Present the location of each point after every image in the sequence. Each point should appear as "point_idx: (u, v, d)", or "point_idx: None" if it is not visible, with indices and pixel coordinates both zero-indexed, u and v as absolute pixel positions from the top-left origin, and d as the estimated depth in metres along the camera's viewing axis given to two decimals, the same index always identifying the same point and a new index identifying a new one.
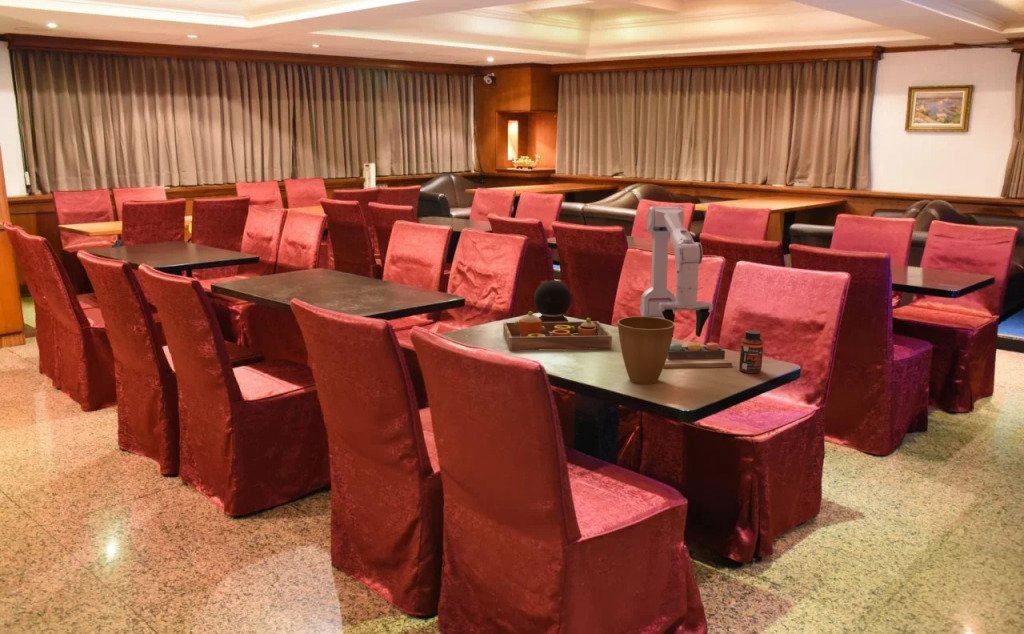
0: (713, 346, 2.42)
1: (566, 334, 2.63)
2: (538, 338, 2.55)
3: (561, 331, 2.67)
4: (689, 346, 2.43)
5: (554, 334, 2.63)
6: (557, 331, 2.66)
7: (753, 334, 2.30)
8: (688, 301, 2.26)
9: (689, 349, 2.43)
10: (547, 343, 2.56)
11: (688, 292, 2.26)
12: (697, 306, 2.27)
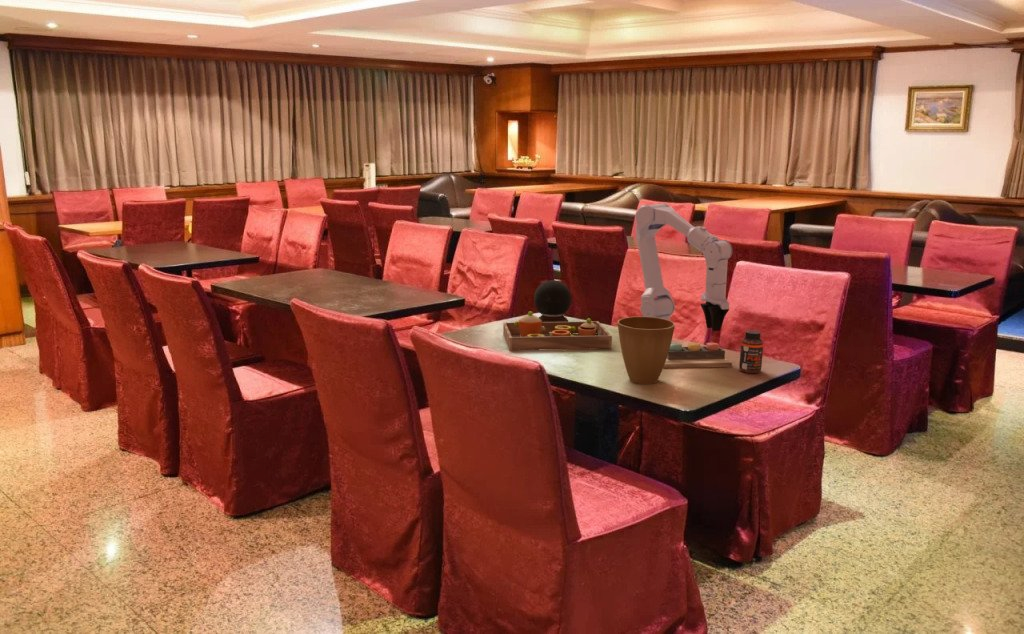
0: (713, 346, 2.42)
1: (565, 334, 2.62)
2: (538, 338, 2.55)
3: (561, 331, 2.66)
4: (689, 346, 2.43)
5: (554, 334, 2.63)
6: (557, 331, 2.66)
7: (753, 334, 2.30)
8: (705, 294, 2.41)
9: (689, 349, 2.43)
10: (547, 343, 2.56)
11: (706, 285, 2.40)
12: (711, 301, 2.38)
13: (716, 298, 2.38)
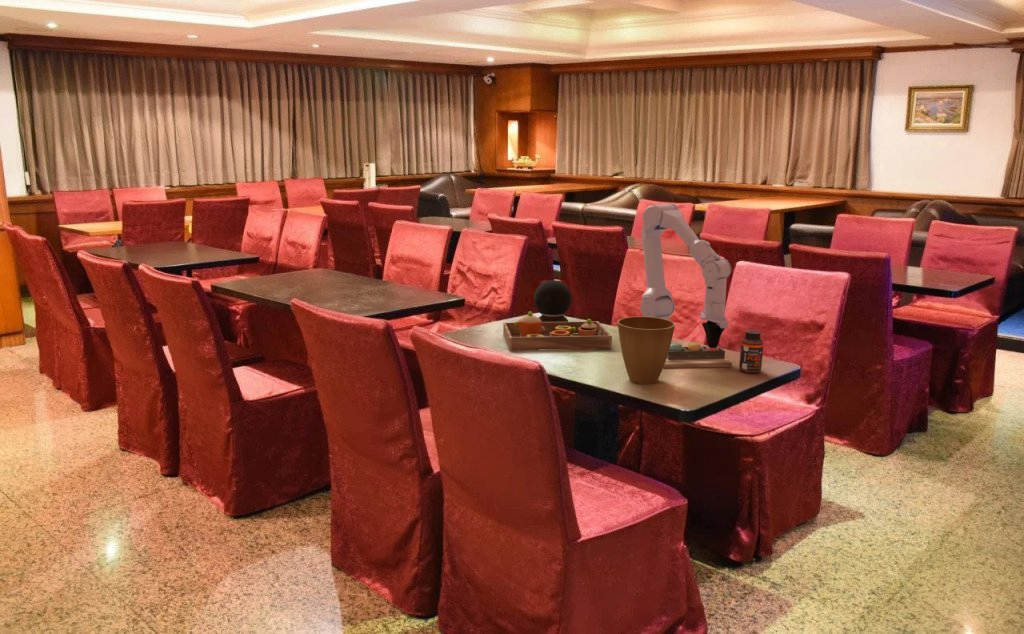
0: (713, 349, 2.43)
1: (565, 335, 2.61)
2: (538, 338, 2.55)
3: (561, 332, 2.66)
4: (689, 346, 2.43)
5: (553, 335, 2.62)
6: (557, 332, 2.65)
7: (753, 334, 2.30)
8: (704, 313, 2.42)
9: (689, 349, 2.43)
10: (547, 343, 2.56)
11: (705, 304, 2.41)
12: (710, 319, 2.40)
13: (715, 317, 2.39)
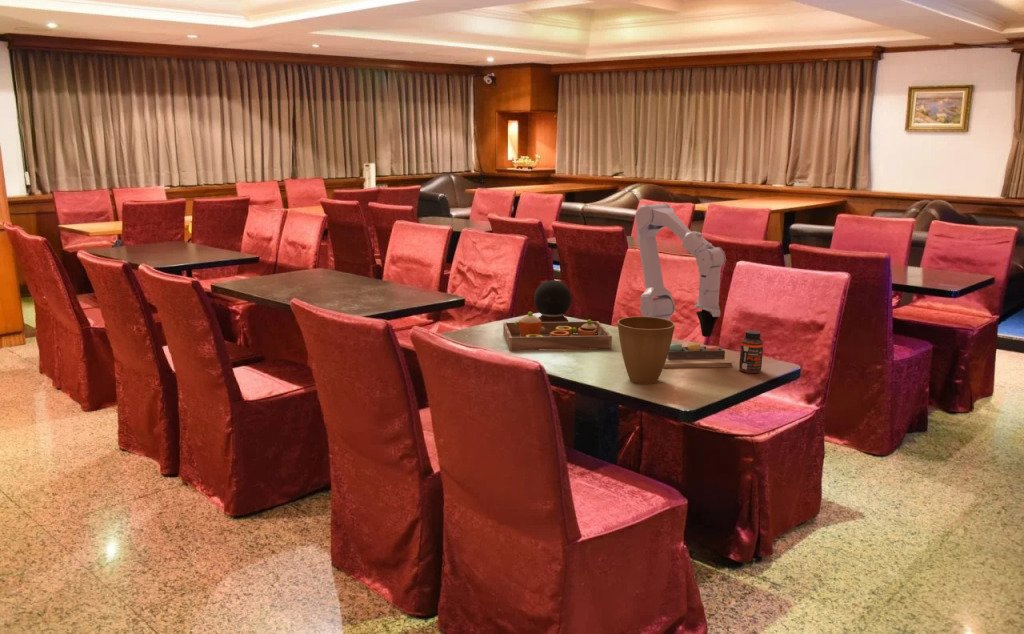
0: (713, 349, 2.43)
1: (564, 335, 2.61)
2: (538, 338, 2.55)
3: (560, 332, 2.65)
4: (689, 346, 2.43)
5: (552, 335, 2.62)
6: (556, 332, 2.65)
7: (753, 334, 2.30)
8: (698, 301, 2.41)
9: (689, 349, 2.43)
10: (547, 343, 2.56)
11: (699, 292, 2.41)
12: (703, 308, 2.39)
13: (708, 305, 2.39)
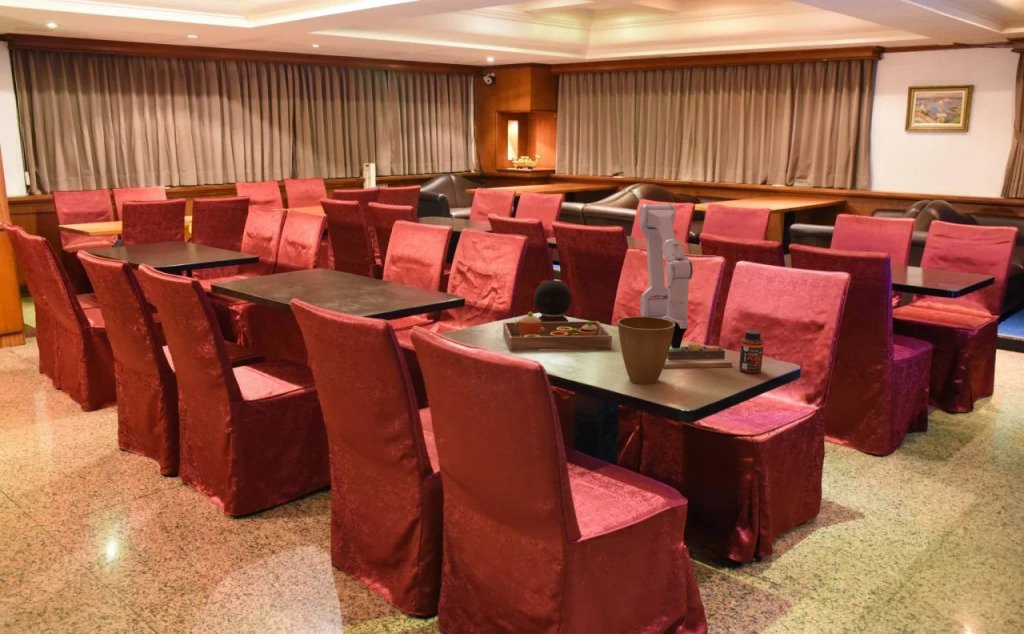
0: (713, 349, 2.43)
1: None
2: (538, 338, 2.55)
3: (560, 333, 2.64)
4: (689, 346, 2.43)
5: None
6: (556, 333, 2.64)
7: (753, 334, 2.30)
8: (667, 313, 2.41)
9: (689, 349, 2.43)
10: (547, 343, 2.56)
11: (667, 304, 2.41)
12: (671, 320, 2.39)
13: (676, 317, 2.38)
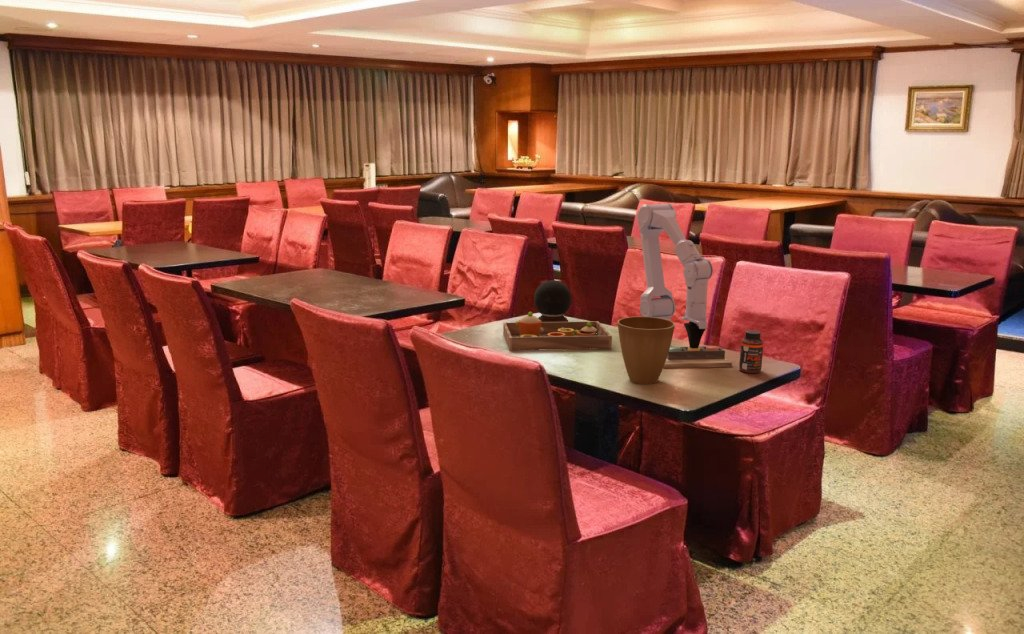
0: (713, 349, 2.43)
1: None
2: (538, 338, 2.55)
3: (558, 334, 2.63)
4: (689, 349, 2.43)
5: None
6: (554, 334, 2.63)
7: (753, 334, 2.30)
8: (686, 313, 2.42)
9: None
10: (547, 343, 2.56)
11: (686, 304, 2.41)
12: (690, 320, 2.39)
13: (695, 317, 2.39)
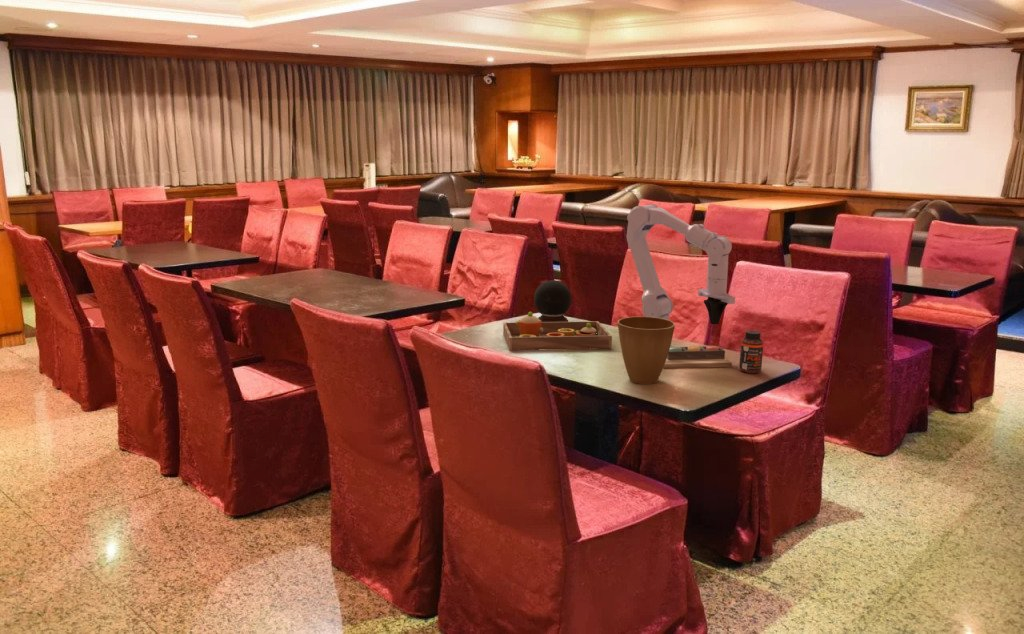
0: (713, 349, 2.43)
1: None
2: (538, 338, 2.55)
3: (557, 334, 2.62)
4: (689, 349, 2.43)
5: (547, 336, 2.60)
6: (553, 334, 2.62)
7: (753, 334, 2.30)
8: (708, 290, 2.45)
9: None
10: (547, 343, 2.56)
11: (708, 281, 2.45)
12: (715, 296, 2.43)
13: (719, 293, 2.43)
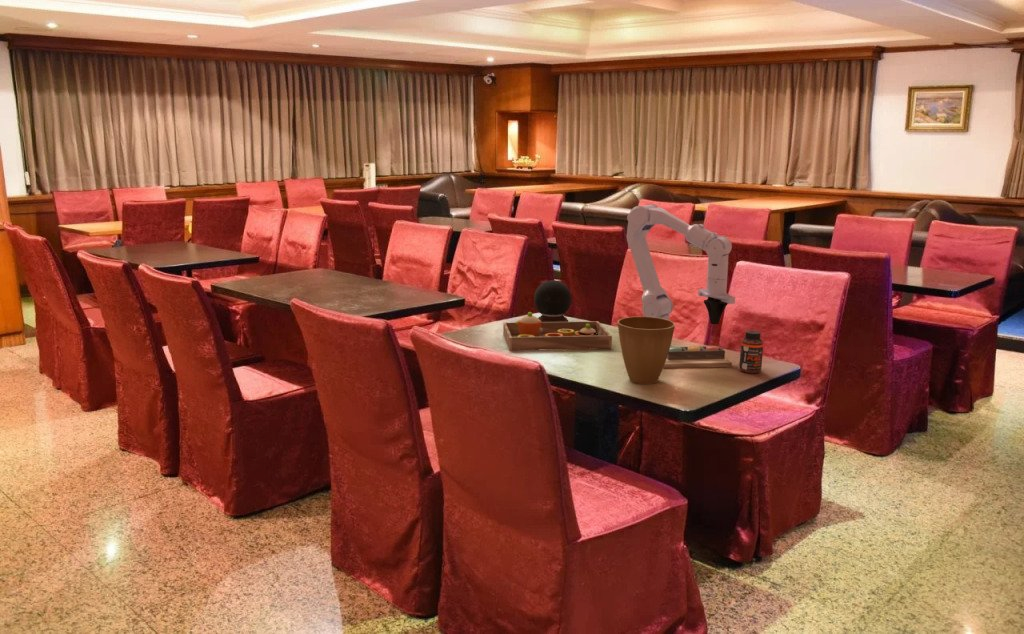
0: (713, 349, 2.43)
1: None
2: (538, 338, 2.55)
3: (556, 335, 2.62)
4: (689, 349, 2.43)
5: None
6: (552, 334, 2.62)
7: (753, 334, 2.30)
8: (708, 290, 2.45)
9: None
10: (547, 343, 2.56)
11: (708, 281, 2.45)
12: (715, 296, 2.43)
13: (719, 293, 2.43)
